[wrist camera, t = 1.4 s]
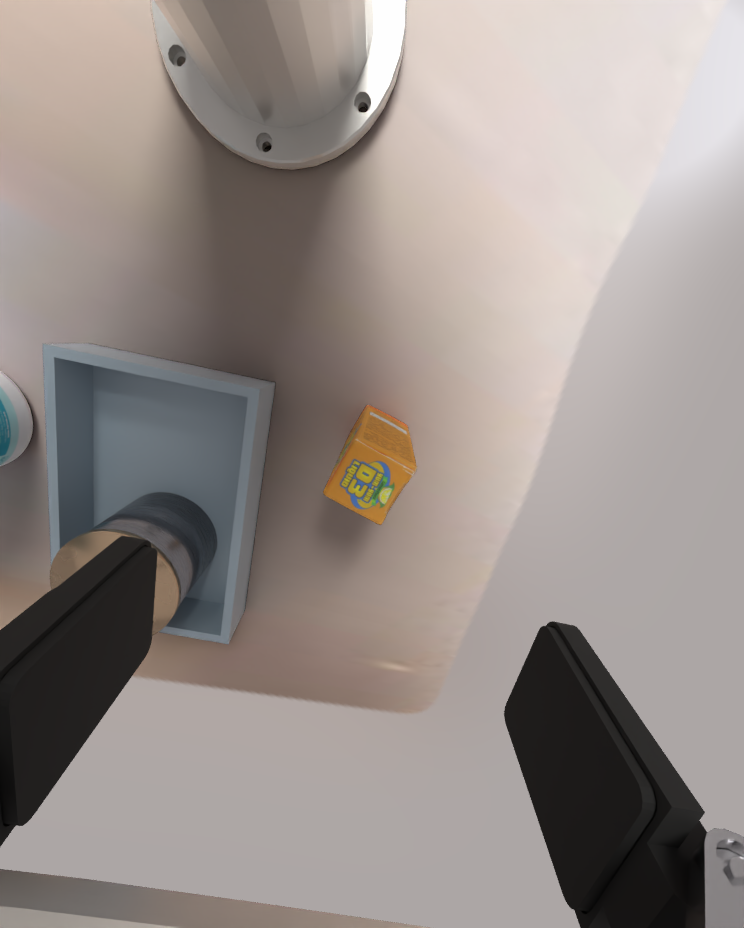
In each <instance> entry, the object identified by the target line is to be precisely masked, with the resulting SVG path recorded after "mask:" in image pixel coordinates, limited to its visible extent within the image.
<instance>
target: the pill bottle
mask: <svg viewBox="0 0 744 928" xmlns="http://www.w3.org/2000/svg"><path fill="white" fill-rule="evenodd" d="M32 431H33V420H32V415H31V411H30V407H29V405H28V403H27V401H26V399H25V397H24V395H23V394H22V392H21V391H20V389H19V388H18V387H17V385H16V384H15V383H14V382H13V381H12V380H11V379H10V378H9V377H8V376H6V375H5V374H4V373H3V372H1V371H0V466H3V465H5V464H8V463H10V462H11V461H13V460H15V459H16V458H17V457H19V456H20V455H21V454H22V453H23V452H24V450H25V449H26V448H27V446H28V444H29V442H30V439H31V436H32Z"/></svg>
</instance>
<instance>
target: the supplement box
mask: <svg viewBox="0 0 744 928" xmlns="http://www.w3.org/2000/svg"><path fill="white" fill-rule="evenodd" d="M416 470H417V466H416V462H415V457H414V452H413V448H412V443H411V439H410V434H409V430H408V426H407V425H406V424H404V423H403V422H401V421H399V420H397V419H395V418H393V417H392V416H390V415H388V414H386V413H384V412H382V411H380V410H378V409H376V408H374V407H372V406H370V405H366V407H365V408H364V410H363V412H362V413H361V415H360V417H359V418H358V420H357V422H356V423H355V425H354V427H353V429H352V431H351V433H350V434H349V436H348V438H347V440H346V442H345V445H344V447H343V449H342V452H341V454H340V456H339V458H338V460H337V463H336V465H335V467H334V469H333V471H332V474H331V476H330V478H329V480H328V482H327V484H326V486H325V489H324V491H323V493H324V495H325V496H327V497H329V498H330V499H332V500H334V501H336V502H338V503H339V504H341V505H343V506H345V507H347V508H348V509H350V510H352V511H354V512H356V513H358V514H360V515H362V516H364V517H365V518H367V519H369V520H371V521H373V522H375V523H376V524H379V525H381V524H382V523H383V521H384V519H385V517H386V515H387V513H388V511H389V509H390V508H391V506H392V505H393V503H394V502H395V500H396V499H397V497H398V496H399V494H400V493H401V491H402V490H403V488H404V487H405V485H406V484H407V483H408V481H409V480H410V478H411V477H412V476H413V475H414V474H415V472H416Z"/></svg>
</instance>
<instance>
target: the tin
mask: <svg viewBox="0 0 744 928" xmlns="http://www.w3.org/2000/svg"><path fill="white" fill-rule="evenodd" d="M121 536H129V537H134V538H139V539H144V540H148V541H150V543H151V548H155V549H157V569H156V584H155V598H154V613H153V628H152V635H154V634H156V633H158V632H159V631H160V630H162V629H163V628H164V627H165V626H166V625H167V624H168V623H169V621H170V620H171V619H172V617H173V616H174V615H175V613H176V611H177V609H178V607H179V605H180V604H181V602H182V601H183V600H184V598H185V597H186V596H187V594H188V593H189V591H190V590H191V589H192V587H193V586H194V585H195V583H196V582H197V581H198V579H199V578H200V577H201V575H202V574H203V573H204V571H205V570H206V569H207V567H208V566H209V564H210V563H211V562H212V560H213V558H214V556H215V553H216V550H217V534H216V531H215V528H214V525H213V523H212V521H211V519H210V518H209V516H208V515H207V514H206V513H205V512H204V510H203V509H202V508H200V507H199V506H198V505H197V504H196V503H194V502H193V501H191V500H189V499H187V498H185V497H183V496H180V495H177V494H173V493H167V492H155V493H150V494H146V495H143V496H141V497H139V498H137V499H136V500H134V501H133V502H131V503H130V504H128V505H127V506H125V507H124V508H122V509H121V510H119V511H118V512H116V513H115V514H113V515H112V516H110V517H109V518H107V519H106V520H104V521H103V522H101V523H100V524H98V525H97V526H95V527H94V528H92V529H90V530H89V531H87V532H85V533H83V534H80V535H79V536H77V537H75V538H74V539H72V540H71V541H69V542H68V543H66V544H65V545H64V546H63V547H62V548H61V549H60V550H59V551H58V552H57V554H56V556H55V557H54V560H53V562H52V565H51V570H50V583H51V588H52V590H53V589H54V588H56V587H58V586H59V585H60V584H61V583H63V582H64V581H65V580H66V579H68V578H69V577H70V576H71V575H73V574H74V573H75V572H76V571H78V570H79V569H80V568H81V567H83V566H84V565H85V564H86V563H88V562H89V561H90V560H91V559H93V558H94V557H95V556H96V555H98V554H99V553H100V552H101V551H103V550H104V549H105V548H106V547H108V546H109V545H110V544H111V543H113V542H114V541H115V540H116V539H118V538H119V537H121Z"/></svg>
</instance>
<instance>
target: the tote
mask: <svg viewBox="0 0 744 928" xmlns="http://www.w3.org/2000/svg"><path fill="white" fill-rule="evenodd" d="M43 367H44V393H45V420H46V446H47V472H48V499H49V525H50V552H51V565H52V562H53V560H54V557H55V556H56V554H57V552H58V551H59V550H60V549H61V548H62V547H63V546H64V545H65V544H66V543H68V542H69V541H71V540H72V539H74V538H75V537H77V536H79V535H80V534H83V533H85V532H87V531H89V530H90V529H92V528H94V527H95V526H97V525H98V524H100V523H101V522H103V521H104V520H106V519H107V518H109V517H110V516H112V515H113V514H115V513H116V512H118V511H119V510H121V509H122V508H124V507H125V506H127V505H128V504H130V503H131V502H133V501H134V500H136V499H137V498H139V497H141V496H143V495H146V494H150V493H155V492H167V493H173V494H177V495H180V496H183V497H185V498H187V499H189V500H191V501H193V502H194V503H196V504H197V505H198V506H199V507H200V508H202V509H203V510H204V512H205V513H206V514H207V515H208V516H209V518H210V519H211V521H212V523H213V525H214V528H215V531H216V534H217V550H216V553H215V556H214V558H213V560H212V562H211V563H210V564H209V566H208V567H207V569H206V570H205V571H204V573H203V574H202V575H201V577H200V578H199V579H198V581H197V582H196V583H195V585H194V586H193V587H192V589H191V590H190V591H189V593H188V594H187V596H186V597H185V598H184V600H183V601H182V602H181V604H180V605H179V607H178V609H177V611H176V613H175V615H174V616H173V617H172V619H171V620H170V621H169V623H168V624H167V625H166V626H165V627H164V628H163V629H162V630H160V631H159V632H161V633H167V634H172V635H178V636H184V637H189V638H195V639H201V640H207V641H212V642H218V643H224V644H229V642H230V640H231V638H232V636H233V634H234V632H235V630H236V627H237V625H238V623H239V621H240V619H241V617H242V615H243V613H244V611H245V606H246V599H247V591H248V584H249V577H250V569H251V562H252V554H253V547H254V539H255V532H256V524H257V517H258V510H259V502H260V495H261V487H262V480H263V472H264V465H265V458H266V450H267V443H268V435H269V428H270V420H271V413H272V406H273V398H274V391H275V382H270V381H266V380H261V379H256V378H251V377H247V376H242V375H237V374H233V373H228V372H223V371H218V370H214V369H209V368H204V367H199V366H195V365H190V364H185V363H180V362H176V361H171V360H166V359H161V358H157V357H152V356H147V355H142V354H138V353H133V352H128V351H124V350H119V349H114V348H109V347H105V346H100V345H95V344H90V343H66V344H43Z"/></svg>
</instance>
